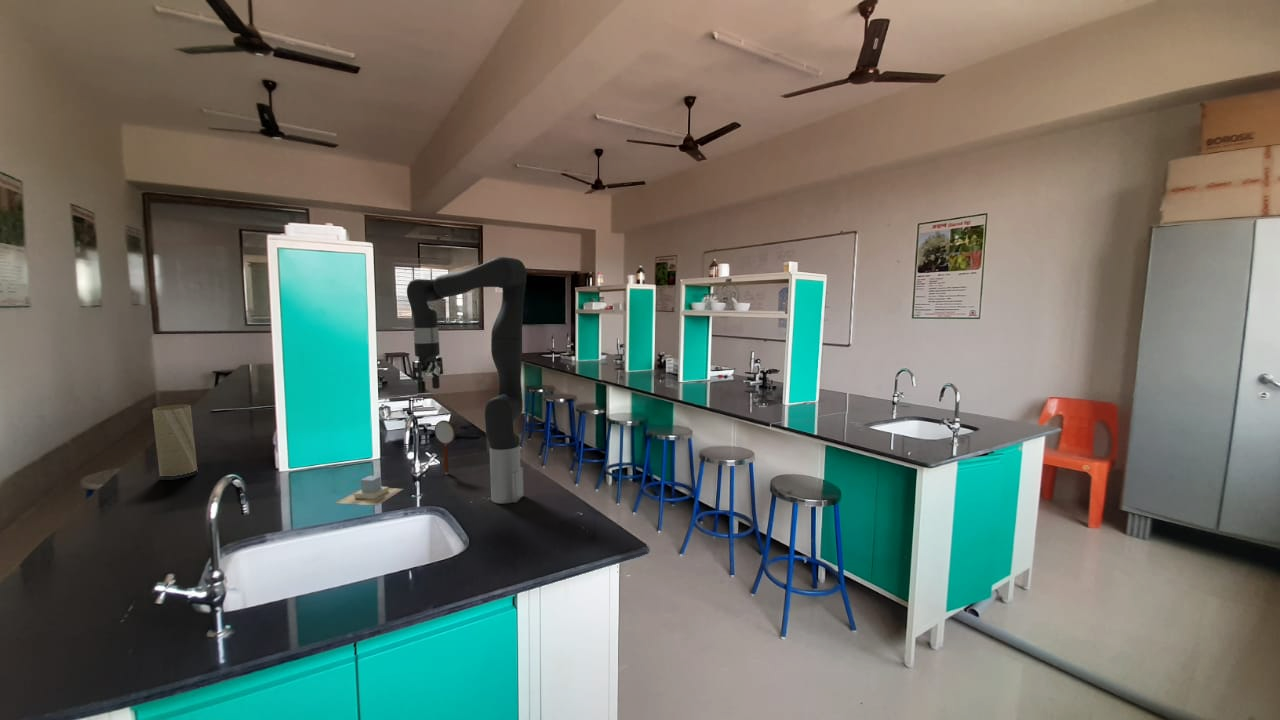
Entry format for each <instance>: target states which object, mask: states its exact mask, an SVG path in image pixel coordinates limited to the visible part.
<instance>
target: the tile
mask: <svg viewBox="0 0 1280 720" xmlns="http://www.w3.org/2000/svg"><path fill="white" fill-rule="evenodd" d="M389 488H390V487H389V486H383V485H381V489H379V490H377V491H375V492H374V493H369V492H362V490H360V489H359V490H360V491H358V490H357V491H358V492H356V491H355V492H356V493H355V492H353V493H354V498H358V499H374V500H375V499H376V498H378V497H380V496H381V495H383V494H385V493H387V492H388V491H389Z"/></svg>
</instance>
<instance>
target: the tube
mask: <svg viewBox="0 0 1280 720" xmlns="http://www.w3.org/2000/svg"><path fill="white" fill-rule="evenodd" d="M191 407H192V406H191V404H172V405H171V404H170V405H166V406H165V405H163V406H158V407H155V408H152V410H151V411H152V419H153V427H154V428H153V429H154V436H155V437H154V438H155V445H156V446H155V448H156V455H157V461H158V463H157V464H158V470H159V471H158V472H159V477H160V476H177V475H183V474H187V473H191V472H194V471H196V470H197V471H198V465H197V456H196V455H197V454H196V445H195V437H194V426H193V418H192V416H193V415H192V408H191Z"/></svg>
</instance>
